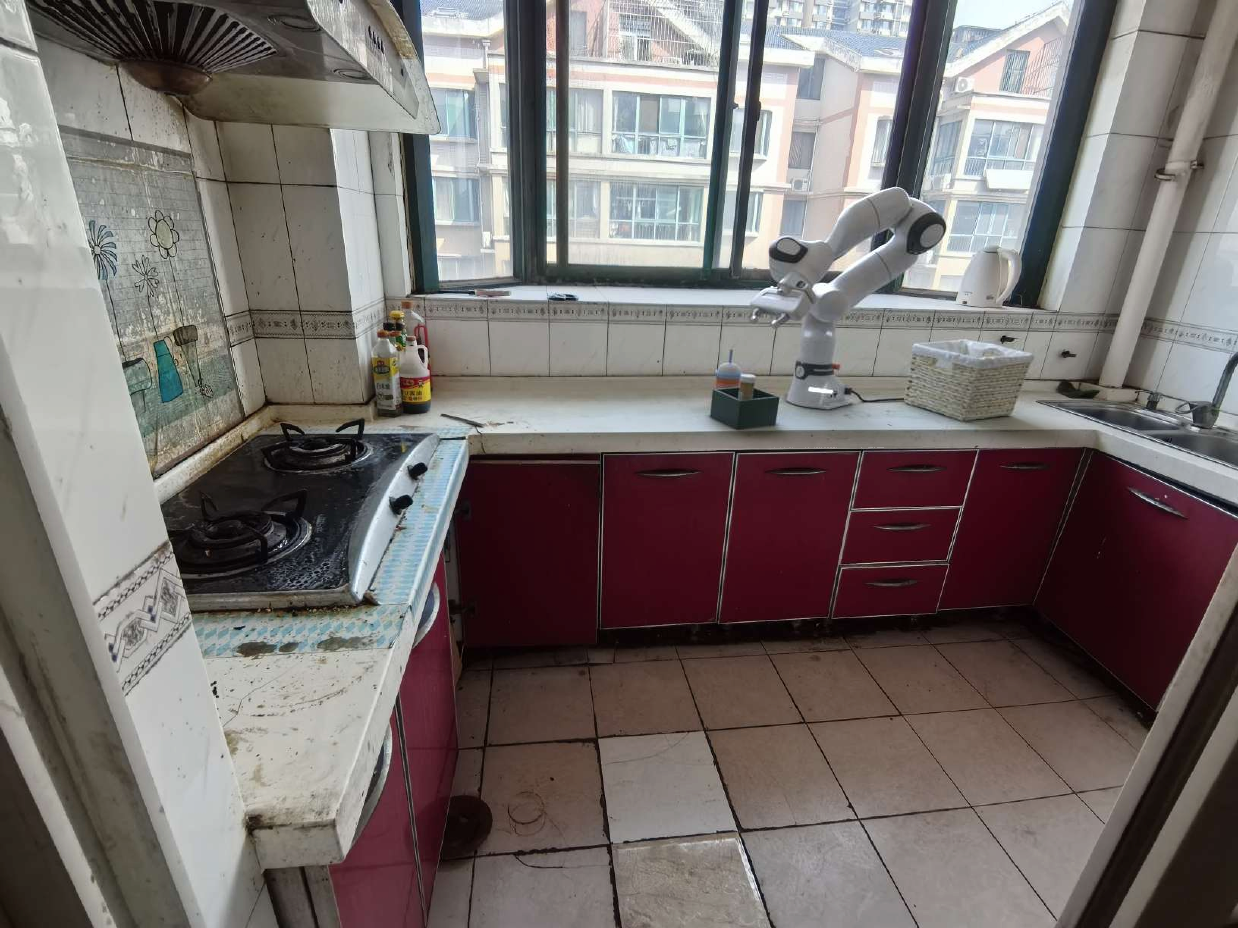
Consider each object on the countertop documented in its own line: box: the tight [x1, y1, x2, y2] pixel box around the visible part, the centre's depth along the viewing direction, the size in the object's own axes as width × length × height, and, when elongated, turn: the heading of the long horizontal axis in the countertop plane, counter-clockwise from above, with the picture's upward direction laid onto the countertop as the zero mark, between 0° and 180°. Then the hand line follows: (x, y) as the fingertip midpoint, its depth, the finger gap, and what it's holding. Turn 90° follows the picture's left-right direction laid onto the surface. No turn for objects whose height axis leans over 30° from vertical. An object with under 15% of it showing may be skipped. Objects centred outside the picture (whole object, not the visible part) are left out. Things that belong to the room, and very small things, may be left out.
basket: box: [903, 338, 1035, 422], centre depth 199 cm, size 27×27×22 cm
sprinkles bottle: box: [738, 373, 757, 400], centre depth 178 cm, size 5×5×14 cm
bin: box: [709, 386, 781, 430], centre depth 179 cm, size 15×14×9 cm
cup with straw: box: [714, 349, 743, 389], centre depth 194 cm, size 9×9×18 cm
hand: (762, 325), depth 172 cm, fingers open, 8 cm apart
